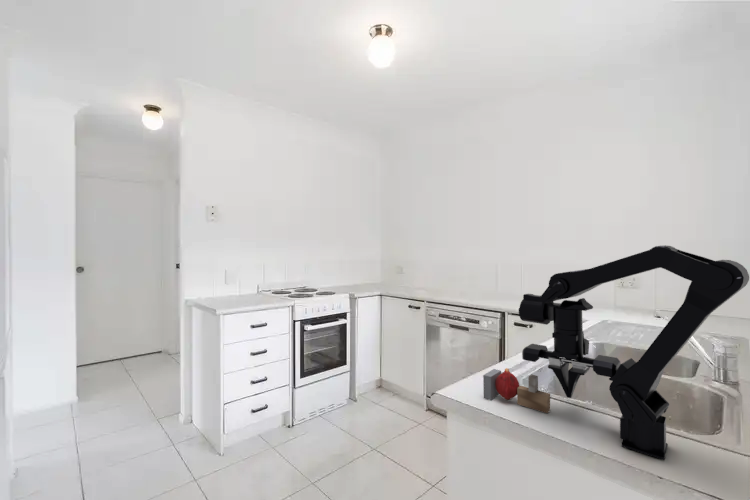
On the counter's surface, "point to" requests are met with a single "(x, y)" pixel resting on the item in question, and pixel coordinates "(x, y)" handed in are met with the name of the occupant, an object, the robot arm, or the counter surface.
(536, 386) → the door
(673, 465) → the counter surface
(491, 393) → the jamb
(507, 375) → the onion
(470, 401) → the counter surface
